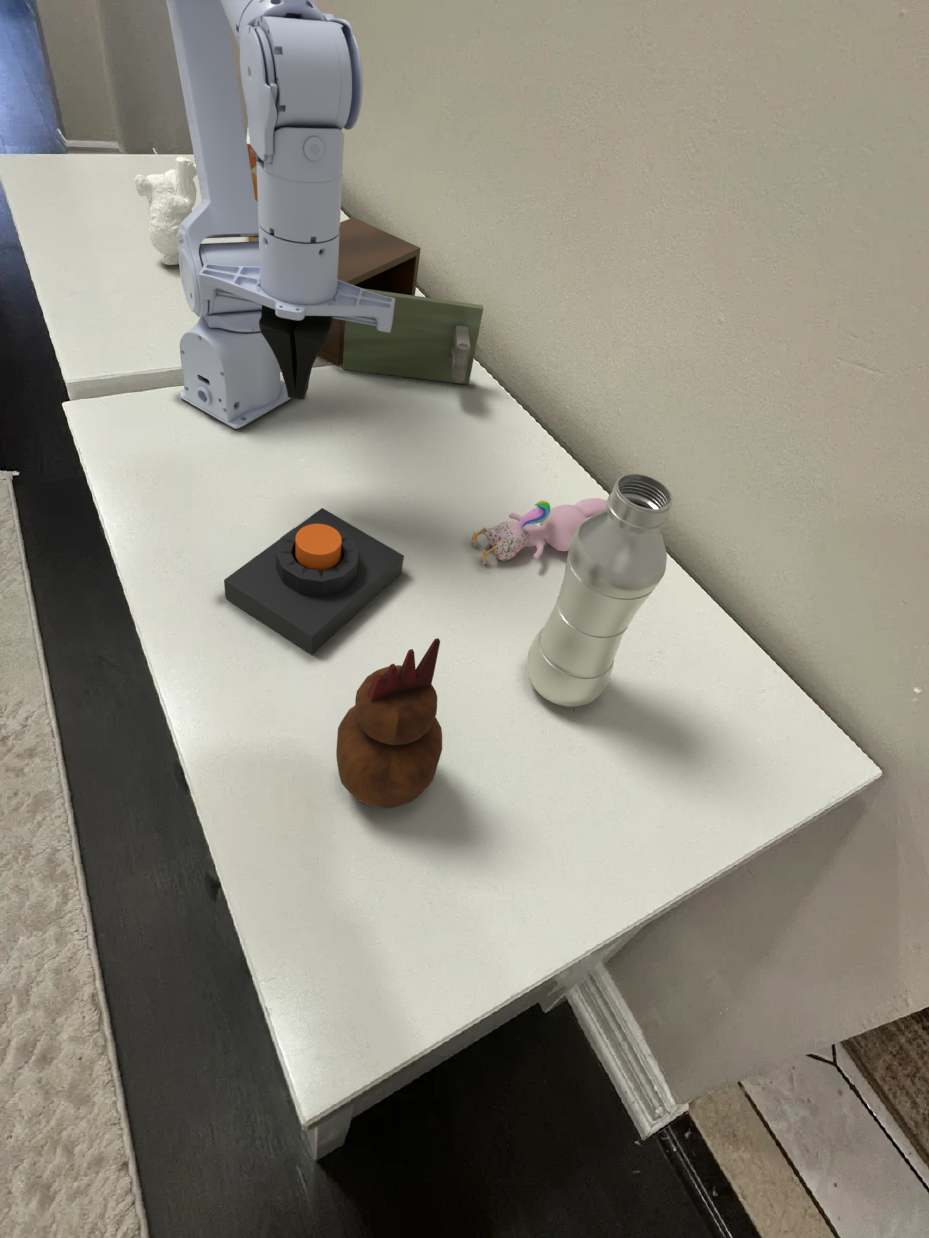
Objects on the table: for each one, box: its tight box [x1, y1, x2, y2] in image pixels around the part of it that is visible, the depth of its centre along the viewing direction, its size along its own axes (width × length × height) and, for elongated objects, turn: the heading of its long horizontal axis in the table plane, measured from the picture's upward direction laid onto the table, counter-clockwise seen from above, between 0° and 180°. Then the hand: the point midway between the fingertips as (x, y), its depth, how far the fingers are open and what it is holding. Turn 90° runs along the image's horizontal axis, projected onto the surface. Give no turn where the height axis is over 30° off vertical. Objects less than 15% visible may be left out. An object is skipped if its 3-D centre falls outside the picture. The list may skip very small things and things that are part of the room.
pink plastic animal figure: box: [471, 497, 607, 565], centre depth 71 cm, size 6×6×15 cm
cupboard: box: [317, 216, 421, 367], centre depth 90 cm, size 10×15×10 cm
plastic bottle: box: [526, 472, 674, 708], centre depth 55 cm, size 6×7×20 cm
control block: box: [223, 507, 405, 655], centre depth 63 cm, size 12×9×4 cm
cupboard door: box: [342, 288, 484, 385], centre depth 83 cm, size 6×15×9 cm, turn 93°
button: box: [295, 524, 342, 570], centre depth 61 cm, size 4×4×2 cm
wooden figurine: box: [335, 637, 443, 809], centre depth 48 cm, size 7×6×15 cm
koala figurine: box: [134, 156, 197, 266], centre depth 93 cm, size 8×7×12 cm
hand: (298, 392), depth 65 cm, fingers closed
